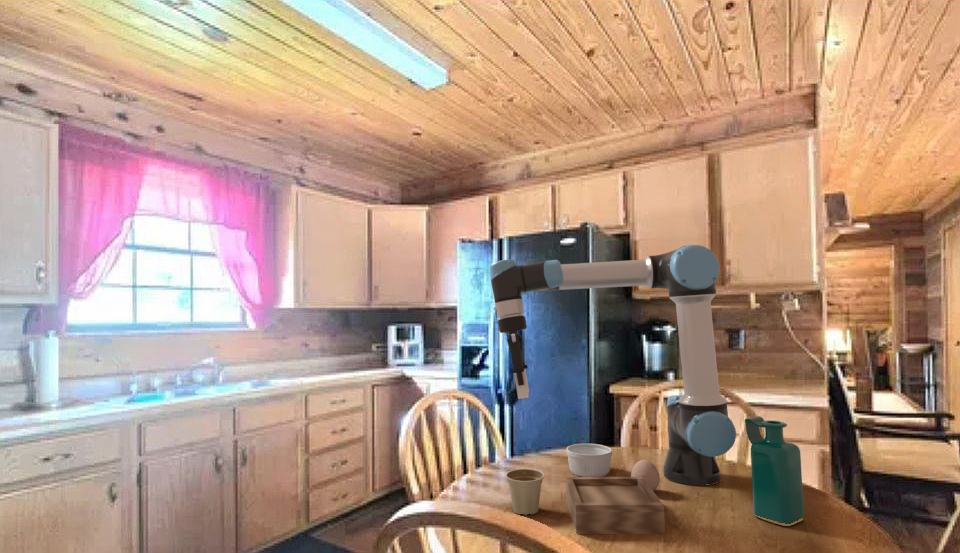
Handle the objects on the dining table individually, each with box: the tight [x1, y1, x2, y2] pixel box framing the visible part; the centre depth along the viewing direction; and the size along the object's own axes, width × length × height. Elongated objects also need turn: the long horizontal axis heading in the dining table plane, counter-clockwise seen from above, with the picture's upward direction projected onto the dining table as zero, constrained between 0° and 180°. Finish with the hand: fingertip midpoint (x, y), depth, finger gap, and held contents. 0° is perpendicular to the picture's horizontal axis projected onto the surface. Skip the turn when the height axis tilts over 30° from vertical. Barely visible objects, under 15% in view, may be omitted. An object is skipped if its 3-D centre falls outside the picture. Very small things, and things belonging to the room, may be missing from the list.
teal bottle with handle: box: [744, 415, 805, 524], centre depth 122 cm, size 10×8×22 cm
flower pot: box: [505, 468, 545, 516], centre depth 129 cm, size 9×9×9 cm
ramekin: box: [566, 443, 613, 477], centre depth 157 cm, size 13×13×7 cm
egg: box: [630, 459, 660, 492], centre depth 140 cm, size 7×7×8 cm
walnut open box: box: [565, 476, 666, 535], centre depth 124 cm, size 19×19×6 cm
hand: (524, 395), depth 141 cm, fingers open, 13 cm apart
